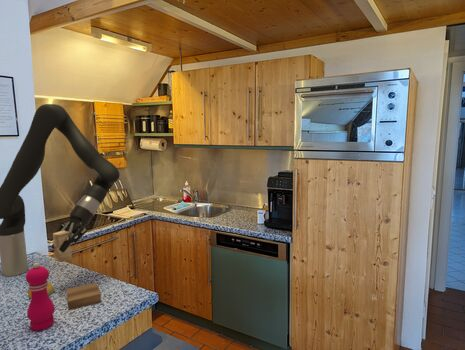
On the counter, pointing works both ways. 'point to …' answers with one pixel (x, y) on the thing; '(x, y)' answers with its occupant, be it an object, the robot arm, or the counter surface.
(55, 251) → the beech block
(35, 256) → the counter surface
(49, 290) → the bread roll
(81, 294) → the walnut block
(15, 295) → the counter surface
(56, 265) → the counter surface
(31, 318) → the pepper mill
